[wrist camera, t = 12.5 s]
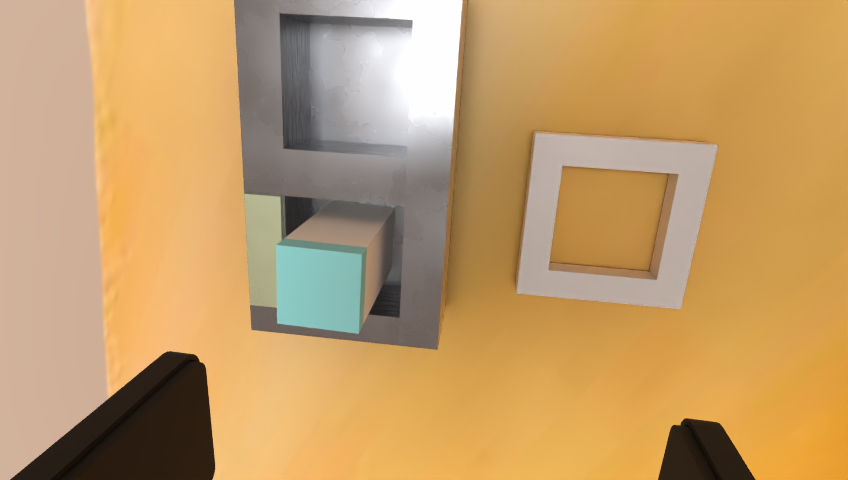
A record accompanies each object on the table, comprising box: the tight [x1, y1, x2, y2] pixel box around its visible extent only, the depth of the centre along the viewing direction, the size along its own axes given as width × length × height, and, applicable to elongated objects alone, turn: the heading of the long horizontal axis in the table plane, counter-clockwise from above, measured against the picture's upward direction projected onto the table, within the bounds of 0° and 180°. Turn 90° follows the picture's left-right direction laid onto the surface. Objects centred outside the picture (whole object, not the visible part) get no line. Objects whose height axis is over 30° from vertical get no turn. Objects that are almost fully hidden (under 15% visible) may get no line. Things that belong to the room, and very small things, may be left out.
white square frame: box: [515, 131, 718, 309], centre depth 31 cm, size 10×10×2 cm
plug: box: [276, 201, 395, 334], centre depth 28 cm, size 4×4×9 cm
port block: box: [234, 0, 468, 349], centre depth 29 cm, size 11×19×6 cm, turn 177°
